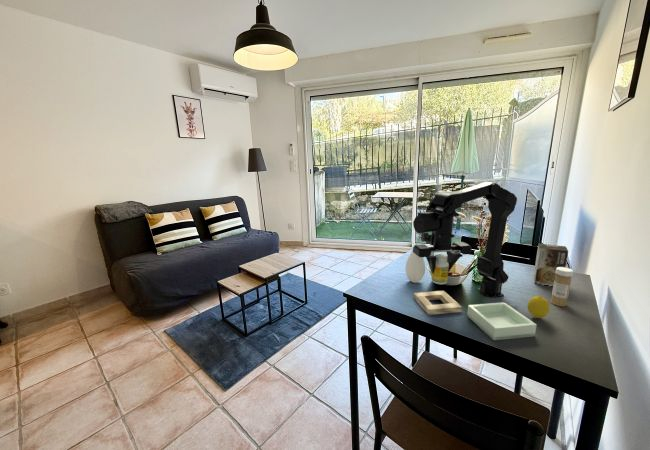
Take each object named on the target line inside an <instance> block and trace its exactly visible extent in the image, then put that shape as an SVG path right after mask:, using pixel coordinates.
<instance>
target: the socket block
mask: <svg viewBox="0 0 650 450" xmlns="http://www.w3.org/2000/svg"><path fill="white" fill-rule="evenodd" d="M413 299H414V300H415V301H416V302H417V303H418V304H419V306H420V307H421V308H422V309H423V310H424V312H425V313H426V314H427V315H429V316H431V315H442V314H453V313H462V311H463V310H462V309H463V306H461V305H460V303H458V302H457V301H456V300H455V299H453V297H452V296H450V295H449V294H448V293H447V292H446V291H445V290H435V291H434V290H433V291H424V292H414V293H413ZM437 300H438V301H439V300H440V301H441V302H442V303H440V304H432V302H430V301H437Z"/></svg>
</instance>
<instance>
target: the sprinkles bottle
mask: <svg viewBox="0 0 650 450" xmlns="http://www.w3.org/2000/svg"><path fill="white" fill-rule="evenodd" d="M573 274H574V270H573V269H571V268H569V267H557V268H556V276H555V280H554V286H553V287H552V290H551V292H552V293H551V299H550V303H551V304H552V305H554V306H557V307H566V306H567V305H568V304H567V302H568V298H569V293H570V286H571V281H572V277H573V276H574V275H573Z"/></svg>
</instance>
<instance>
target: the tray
mask: <svg viewBox="0 0 650 450" xmlns="http://www.w3.org/2000/svg"><path fill="white" fill-rule="evenodd" d="M466 316H467V317H468V318H469V319H470V321H472V323H474V324H475V325H477V327H479V329H480V330H482V331H483V332H484V333H485V334H486V335H487V336H488V337H490V339H492V340H493V341H500V340H501V341H502V340H511V339H512V340H513V339H521V338H522V339H523V338H531V337H535V335H536V332H537V326H538V325H537V323H535V322H533V320H531V319H529V318H528V317H526V316H525V315H523V314H522V313H521V312H519V311H517V310H516V308H513V307H512V306H511V305H509V304H508V303H506V302H491V303H479V304H477V303H476V304H468V306H467V314H466Z"/></svg>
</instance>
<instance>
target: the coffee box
mask: <svg viewBox="0 0 650 450" xmlns="http://www.w3.org/2000/svg"><path fill="white" fill-rule="evenodd" d="M568 255H569V250H568V248H567V246H565V245H555V244H545V243H538V245H537V251H536V258H535V265H534V270H533V277H532V280H533V279H534V281H533V284H534V283H538V284H543V285H542V286H544V285H551V286H554V280H555V276H556V268H557V267H565V268H567V267H566V266H567V260H568ZM538 284H537V285H538Z"/></svg>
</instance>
